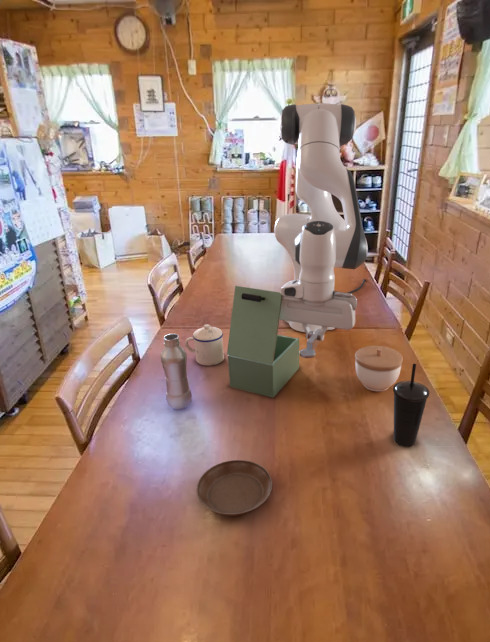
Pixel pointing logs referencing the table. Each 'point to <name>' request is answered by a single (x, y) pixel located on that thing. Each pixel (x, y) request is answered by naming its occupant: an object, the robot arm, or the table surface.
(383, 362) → the lidded bowl
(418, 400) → the drinking cup
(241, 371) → the bin
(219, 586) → the table surface
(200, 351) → the teacup with lid
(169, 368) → the silver metal bottle
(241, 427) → the table surface
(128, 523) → the table surface
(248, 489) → the saucer
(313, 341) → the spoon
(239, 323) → the bin lid
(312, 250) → the robot arm
